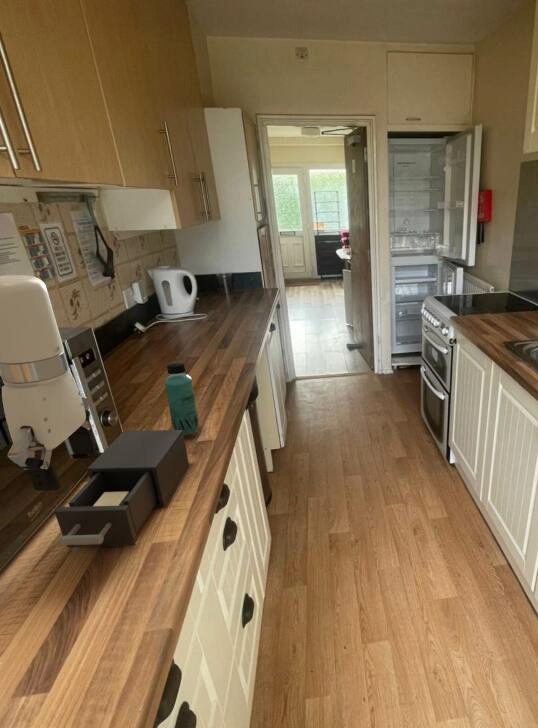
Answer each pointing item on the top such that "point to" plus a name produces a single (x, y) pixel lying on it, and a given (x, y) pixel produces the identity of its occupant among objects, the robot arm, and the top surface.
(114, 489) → the drawer
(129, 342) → the top surface
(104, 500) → the block
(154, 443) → the drawer cabinet
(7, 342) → the robot arm
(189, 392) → the beverage bottle
